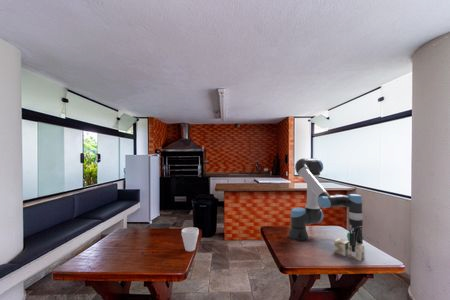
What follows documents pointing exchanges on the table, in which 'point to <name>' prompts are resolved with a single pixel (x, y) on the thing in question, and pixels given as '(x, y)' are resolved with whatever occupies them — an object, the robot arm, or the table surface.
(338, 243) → the cream toy block
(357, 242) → the mug
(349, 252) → the cream patterned block
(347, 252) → the rail board
